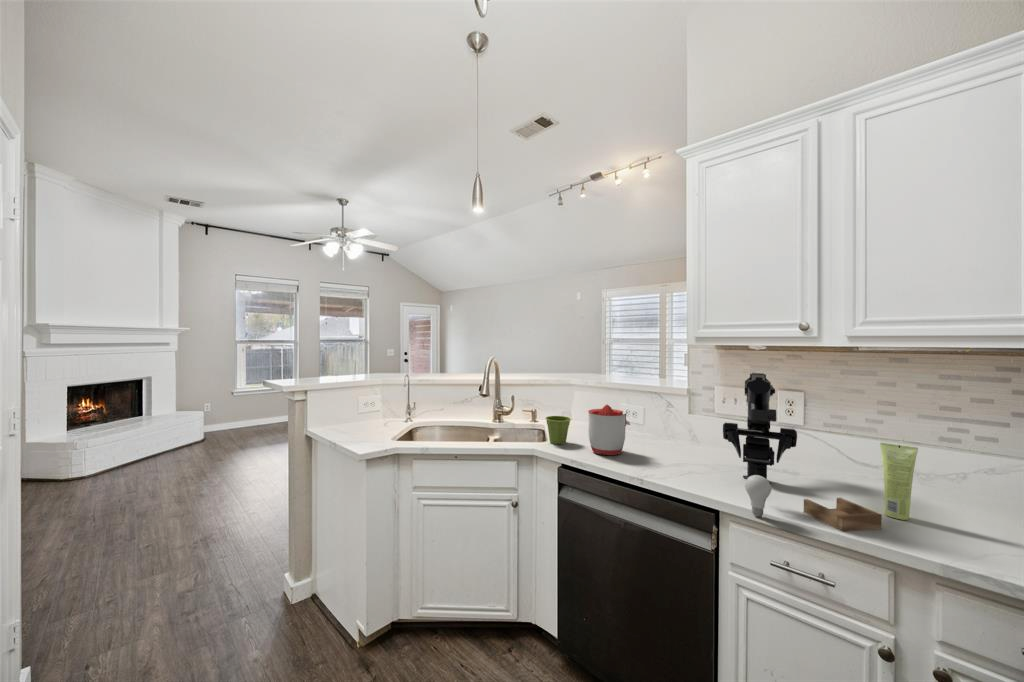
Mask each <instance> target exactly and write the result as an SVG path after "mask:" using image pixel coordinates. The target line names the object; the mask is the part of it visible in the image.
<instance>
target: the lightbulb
mask: <svg viewBox="0 0 1024 682" xmlns="http://www.w3.org/2000/svg"><path fill="white" fill-rule="evenodd" d="M768 480H769V479H768V478H767V479H766V478H764V477H762V476H759V475H753V476H750V477H748V478H747V480H746V479H745V482H744V488H745V491H746V493H747V495H748V496H749V500H750V506H751V513H752V514H753V515H754V516H755V517H757V518H759V517H762V516H764V509H765V505H766V501H767V499H768V498H769V496H770V495H771V492H772V486H771V485H772V484H770V483H769V481H770V480H769V481H768Z"/></svg>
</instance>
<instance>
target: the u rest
mask: <svg viewBox="0 0 1024 682" xmlns="http://www.w3.org/2000/svg"><path fill="white" fill-rule="evenodd" d="M803 513H804V514H806V515H808V516H810V517H812V518H814V519H816V520H817V521H821V522H822V523H824V524H827V525H828V526H830V527H832V528H834V529H836V530H839V531H840V532H850V531H852V532H855V531H866V530H870V531H871V530H882V520H883V519H882V518H883V517H882V515H883V514H881V513H878V512H876V511H873V510H872V509H870V508H867V507H864V506H862V505H859V504H858V503H857V504H856V502H852V501H850V500H848V499H845V498H843V497H836V507H835V508H829V507H826V506H823V505H821V504H819V503H818V502H815V501H812V500H811V499H808V498H805V499H803Z"/></svg>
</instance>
